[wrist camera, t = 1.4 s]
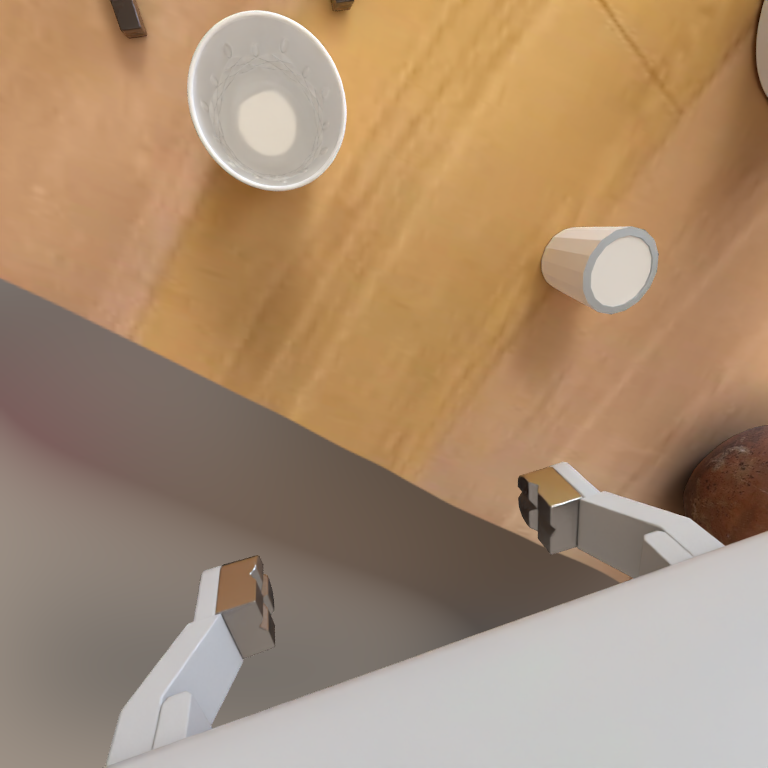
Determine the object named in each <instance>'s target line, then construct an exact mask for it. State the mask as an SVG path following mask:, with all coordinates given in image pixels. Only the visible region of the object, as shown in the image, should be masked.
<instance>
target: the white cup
mask: <svg viewBox="0 0 768 768" xmlns="http://www.w3.org/2000/svg"><path fill="white" fill-rule="evenodd" d="M187 96H188V104H189V110H190V114H191V118H192V121H193V124H194V127H195V129H196V132H197V134H198V136H199V138H200V140H201V142H202V143H203V145H204V147H205V148H206V150H207V151H208V153H209V154H210V155H211V157H212V158H213V159H214V160H215V161H216V162H217V163H218V164H219V165H220V166H221V167H222V168H223V169H224V170H225V171H226V172H228V173H229V174H230V175H232V176H233V177H234V178H236V179H238V180H239V181H241V182H243V183H245V184H247V185H250V186H252V187H255V188H258V189H263V190H268V191H287V190H293V189H296V188H300V187H302V186H305V185H307V184H309V183H310V182H312V181H314V180H315V179H317V178H318V177H319V176H320V175H321V174H322V173H324V172H325V170H326V169H327V168H328V167H329V166H330V164H331V163H332V162H333V160H334V159H335V157H336V155H337V153H338V151H339V149H340V146H341V144H342V141H343V137H344V133H345V127H346V99H345V93H344V89H343V85H342V81H341V78H340V76H339V73H338V71H337V68H336V66H335V64H334V62H333V60H332V59H331V57H330V55H329V54H328V52H327V51H326V49H325V48H324V47H323V45H322V44H321V43H320V42H319V41H318V40H317V39H316V38H315V37H314V36H313V35H312V34H311V33H310V32H309V31H308V30H307V29H305V28H304V27H303V26H301V25H300V24H298V23H297V22H295V21H293V20H291V19H289V18H287V17H285V16H283V15H280V14H277V13H273V12H268V11H259V10H253V11H244V12H239V13H236V14H233V15H231V16H228V17H226V18H224V19H223V20H221V21H219V22H218V23H217V24H215V25H214V26H213V27H212V28H211V29H210V30H209V31H208V32H207V33H206V34H205V35H204V37H203V38H202V39H201V41H200V43H199V44H198V46H197V48H196V50H195V52H194V55H193V57H192V60H191V64H190V68H189V73H188V81H187Z"/></svg>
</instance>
